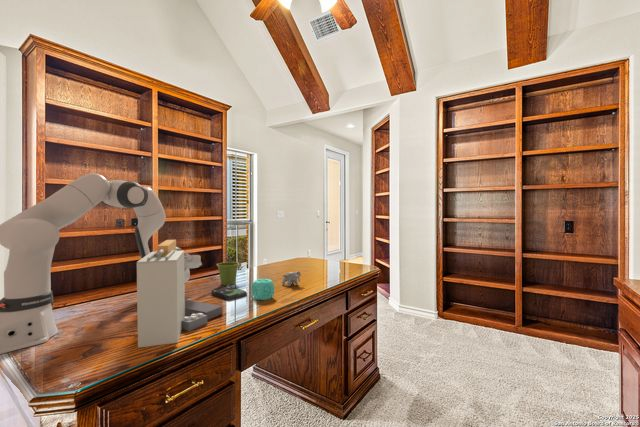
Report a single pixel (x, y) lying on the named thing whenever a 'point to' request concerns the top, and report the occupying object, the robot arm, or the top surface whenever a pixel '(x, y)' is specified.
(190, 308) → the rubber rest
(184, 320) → the switch box
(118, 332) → the top surface
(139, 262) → the slotted cream upright block
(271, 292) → the decorative dice
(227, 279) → the plant pot
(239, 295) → the disk drive
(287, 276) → the gray elephant figurine
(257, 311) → the top surface
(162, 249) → the long orange square stick
